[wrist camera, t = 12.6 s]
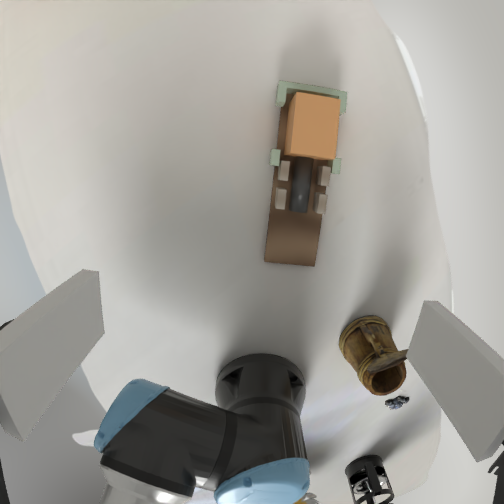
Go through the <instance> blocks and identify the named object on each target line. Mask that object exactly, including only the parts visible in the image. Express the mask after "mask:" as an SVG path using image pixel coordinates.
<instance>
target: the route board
mask: <svg viewBox="0 0 504 504" xmlns="http://www.w3.org/2000/svg"><path fill="white" fill-rule="evenodd" d="M294 95H295V94H288V93H286V101H285V104H284V106H283V107H281V111H280V121H279V130H278V140H277V149H278V150H281V151H280V160H279V166H275V169H274V178H273V187H272V196H271V205H270V214H269V223H268V232H267V241H266V250H265V258H264V261H265V262H272V263H282V264H293V265H304V266H315V260H316V254H317V248H318V241H319V234H320V228H321V221H322V214H325V211H326V203H327V196H328V195H326V194H325V191H326V186H329V180H330V171H331V167H327V161H328V160H316V159H314V161H313V169H312V178H311V186H310V195H309V203H308V210H307V213H299V212H293V211H289V204H290V196H291V187H292V178H293V169H294V160H295V156H287V155H284V150H285V140H286V130H287V121H288V111H289V103H290V102H291V100H292V98H293V97H294Z"/></svg>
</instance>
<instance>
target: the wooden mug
mask: <svg viewBox="0 0 504 504" xmlns="http://www.w3.org/2000/svg"><path fill="white" fill-rule="evenodd" d="M339 347H340V350H341V352H342V354H343V356H344V358H345V359H346V360H347V361H348V362H349V363H350V364H351V365H352V367H353V368H354V369H355V371H356V372H357V375H358V378H359V380H360V381H361V383H362V384H363V385H364V386H365V388H366V389H367V390H369V391H370V392H371V393H372V394H374V395H380V396H382V395H387V394H390V393H392V392H394V391H396V390H397V389H398V388H399V387H400V386H401V385H402V384H403V382H404V380H405V378H406V368H405V363H404V360H406V359H407V358H406V354H407V351H408V349H406V350H402V351H398V350H397V348H396V345H395V343H394V341H393V339H392V334H391V331H390V329H389V327H388V325H387V323H386V322H385V321H384V320H383V319H382V318H380V317H377V316H366V317H363V318H359V319H357V320H355V321H354V322H352V323H351V324H350V325H349V326H348V327H347V328H346V329H345V330H344V331H343V333H342V334H341V336H340V340H339Z"/></svg>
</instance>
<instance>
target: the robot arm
mask: <svg viewBox="0 0 504 504" xmlns="http://www.w3.org/2000/svg"><path fill="white" fill-rule="evenodd" d="M104 333H105V332H104V324H103V315H102V305H101V294H100V281H99V272H98V271H91V270H84V269H82V270H81V271H80V272H78V273H77V274H75V275H74V276H72V277H71V278H70V279H68V280H67V281H65V282H64V283H62V284H61V285H60V286H58V287H57V288H56V289H54V290H53V291H51V292H50V293H49V294H47V295H46V296H45V297H43V298H42V299H40V300H39V301H38V302H37V303H35V304H34V305H33V306H31V307H30V308H29V309H27V310H26V311H25V312H24V313H22V314H21V315H19V316H18V317H17V318H16V319H13V320H11V321H9V322H6V323H4V324H3V325H2V326H1V327H0V423H1V425H2V427H3V429H4V431H5V432H6V433H7V434H9V435H11V436H13V437H15V438H17V439H19V440H21V441H23V442H25V440H26V439H27V437H28V436H29V434H30V433H31V431H32V430H33V428H34V427H35V426H36V424H37V423H38V421H39V420H40V418H41V417H42V416H43V414H44V413H45V411H46V410H47V408H48V407H49V406H50V404H51V403H52V401H53V400H54V399H55V397H56V396H57V394H58V393H59V392H60V390H61V389H62V388H63V386H64V385H65V384H66V382H67V381H68V380H69V378H70V377H71V376H72V374H73V373H74V372H75V370H76V369H77V368H78V366H79V365H80V364H81V362H82V361H83V360H84V358H85V357H86V356H87V355H88V353H89V352H90V351H91V349H92V348H93V347H94V346H95V344H96V343H97V342H98V341H99V339H100V338H101V337H102V335H103V334H104ZM406 358H407V359H408V360H409V362H410V363H411V364H412V366H413V367H414V369H415V370H416V371H417V373H418V374H419V376H420V377H421V379H422V380H423V381H424V383H425V384H426V386H427V387H428V389H429V390H430V391H431V393H432V394H433V396H434V397H435V399H436V400H437V402H438V403H439V405H440V406H441V408H442V409H443V411H444V412H445V414H446V415H447V417H448V418H449V420H450V421H451V423H452V424H453V426H454V427H455V429H456V430H457V432H458V433H459V435H460V436H461V438H462V440H463V441H464V443H465V444H466V446H467V448H468V449H469V451H470V452H471V454H472V456H473V457H474V459H475V460H476V462H479V461H482V460H484V459H487V458H489V457H491V456H493V454H494V453H495V452H496V450H497V449H498V448H499V446H500V445H501V444H503V445H504V359H503V358H502V357H501V356H499V354H498V353H497V352H495V351H494V350H493V349H492V348H491V347H490V346H489V345H487V343H485V342H484V341H483V340H482V339H481V338H480V337H479V336H478V335H477V334H475V333H474V332H473V331H472V330H471V329H470V328H469V327H468V326H466V325H465V324H464V323H463V322H462V321H461V320H460V319H458V318H457V317H456V316H455V315H454V314H453V313H451V312H450V311H449V310H448V309H447V308H445V307H444V306H443V305H442V304H441V303H439V302H438V301H424V303H423V306H422V309H421V313H420V316H419V319H418V322H417V325H416V328H415V331H414V334H413V337H412V340H411V343H410V346H409V349H408V351H407V354H406ZM305 395H306V389H305V383H304V379H303V376H302V374H301V372H300V370H299V369H298V368H297V367H296V366H295V365H294V364H293V363H291V362H290V361H288V360H286V359H284V358H282V357H279V356H276V355H270V354H252V355H247V356H244V357H241V358H238V359H236V360H234V361H232V362H231V363H229V364H228V365H227V366H226V367H225V368H224V369H223V370H222V371H221V373H220V374H219V376H218V379H217V382H216V389H215V397H216V402H217V404H218V407H217V406H214V405H211V404H208V403H206V402H203V401H200V400H197V399H195V398H192V397H189V396H186V395H184V394H181V393H179V392H176V391H174V390H171V389H170V388H169V387H168V386H161V385H158V384H155V383H153V382H150V381H147V380H145V379H135V380H132V381H131V382H129V383H128V384H127V385H126V386H125V387H124V388H123V389H122V391H121V392H120V393H119V394H118V396H117V397H116V399H115V400H114V402H113V403H112V405H111V407H110V408H109V410H108V412H107V413H106V415H105V417H104V419H103V421H102V423H101V425H100V429H99V431H98V433H97V435H96V437H95V440H94V447H95V448H96V449H97V450H98V452H100V453H103V456H102V459H101V461H100V464H99V466H100V468H101V470H102V472H103V474H104V476H105V478H106V486H105V488H104V491H103V494H102V497H101V500H100V503H99V504H182V503H184V502H186V501H189V500H191V498H192V495H193V492H194V488H195V487H198V488H202V489H206V490H210V491H213V492H214V498H215V500H216V503H217V504H293V503H295V502H296V501H298V500H299V499H300V498H302V497H303V496H304V495H305V493H306V492H307V490H308V488H309V485H310V478H309V467H310V465H309V461H308V459H307V454H306V448H305V443H304V438H303V432H302V426H301V421H300V414H301V411H302V407H303V404H304V400H305ZM496 466H499V468H498V469H497V470H496V471H495V473H494V474H495V475H498V476H497V483H496V489H495V495H494V500H493V504H504V451H503V452H502V453H501V455H500V456H499V457H498V459H497V460H496V461H495V462H494V463H493V465H492V466H491V467H490V469H489V471H488V473H491V472H492V471H493V469H494V468H495V467H496ZM0 504H10V502H9V498H8V494H7V490H6V485H5V481H4V477H3V471H2V466H1V461H0Z"/></svg>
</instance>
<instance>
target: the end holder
mask: <svg viewBox="0 0 504 504" xmlns="http://www.w3.org/2000/svg"><path fill="white" fill-rule="evenodd" d="M296 92H301V93H307V94H314V95H319V96H325V97H331V98H336V99H341V101H340V114H339V116H340V115H342V114H344V113H346V102H347V92H345V91H340V90H335V89H330V88H324V87H319V86H313V85H307V84H300V83H293V82H286V81H279V83H278V86H277V95H276V104H275V106H279V107H283V106H284V104H285V101H286V93H288V94H296ZM280 151H281V150H278V149H271V153H270V162H269V165H272V166H279V160H280ZM340 166H341V158H335V159H332V160H328V161H327V167H331V171H330V173H333V174H340Z"/></svg>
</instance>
